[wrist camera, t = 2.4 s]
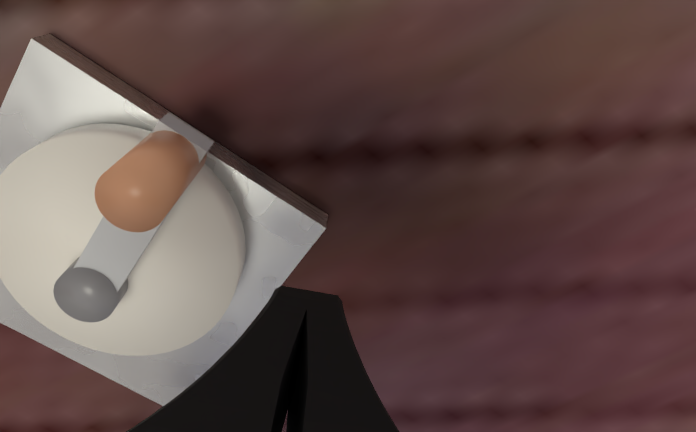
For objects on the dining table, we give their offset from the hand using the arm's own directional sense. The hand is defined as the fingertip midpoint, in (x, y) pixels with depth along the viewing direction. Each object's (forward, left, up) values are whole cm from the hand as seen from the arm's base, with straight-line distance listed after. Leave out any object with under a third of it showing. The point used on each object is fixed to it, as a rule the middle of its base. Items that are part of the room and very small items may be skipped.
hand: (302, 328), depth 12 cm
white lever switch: (+5, +4, -6) cm, 8 cm away
